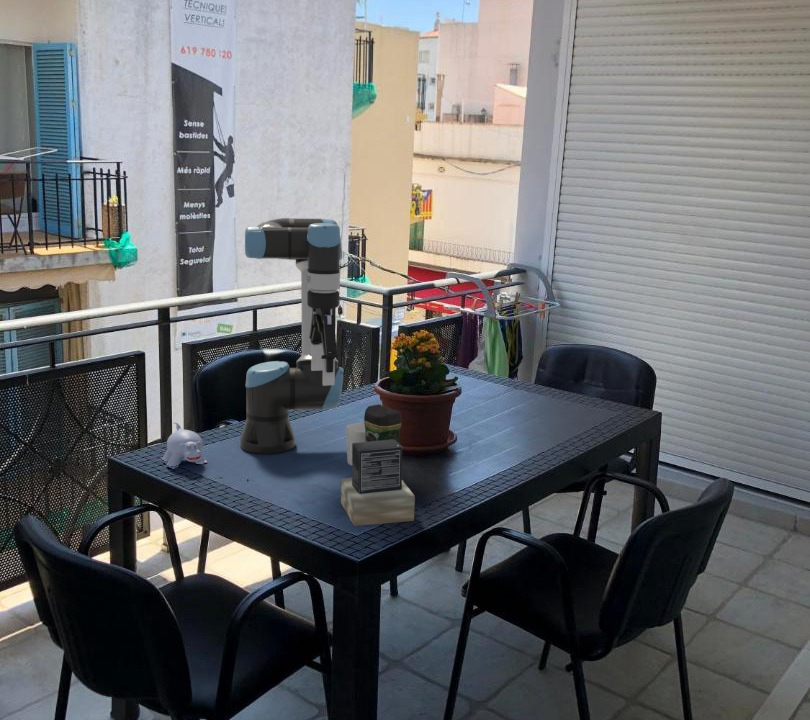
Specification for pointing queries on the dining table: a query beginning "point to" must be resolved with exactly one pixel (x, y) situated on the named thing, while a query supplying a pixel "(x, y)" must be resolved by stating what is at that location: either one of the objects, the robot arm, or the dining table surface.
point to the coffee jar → (381, 423)
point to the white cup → (354, 437)
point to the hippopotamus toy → (183, 447)
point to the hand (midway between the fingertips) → (322, 377)
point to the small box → (376, 466)
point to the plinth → (377, 515)
